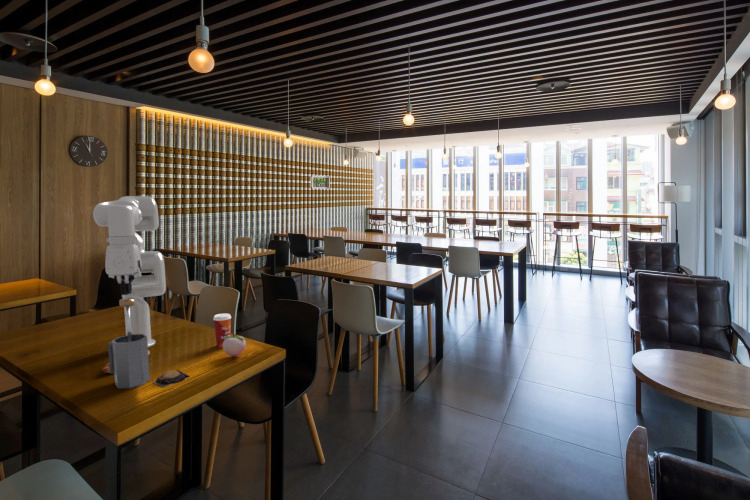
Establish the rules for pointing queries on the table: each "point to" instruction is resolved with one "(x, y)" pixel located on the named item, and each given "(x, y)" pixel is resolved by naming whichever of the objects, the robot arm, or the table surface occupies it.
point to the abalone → (170, 378)
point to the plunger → (128, 314)
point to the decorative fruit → (234, 345)
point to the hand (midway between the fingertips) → (126, 294)
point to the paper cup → (222, 327)
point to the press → (129, 360)
